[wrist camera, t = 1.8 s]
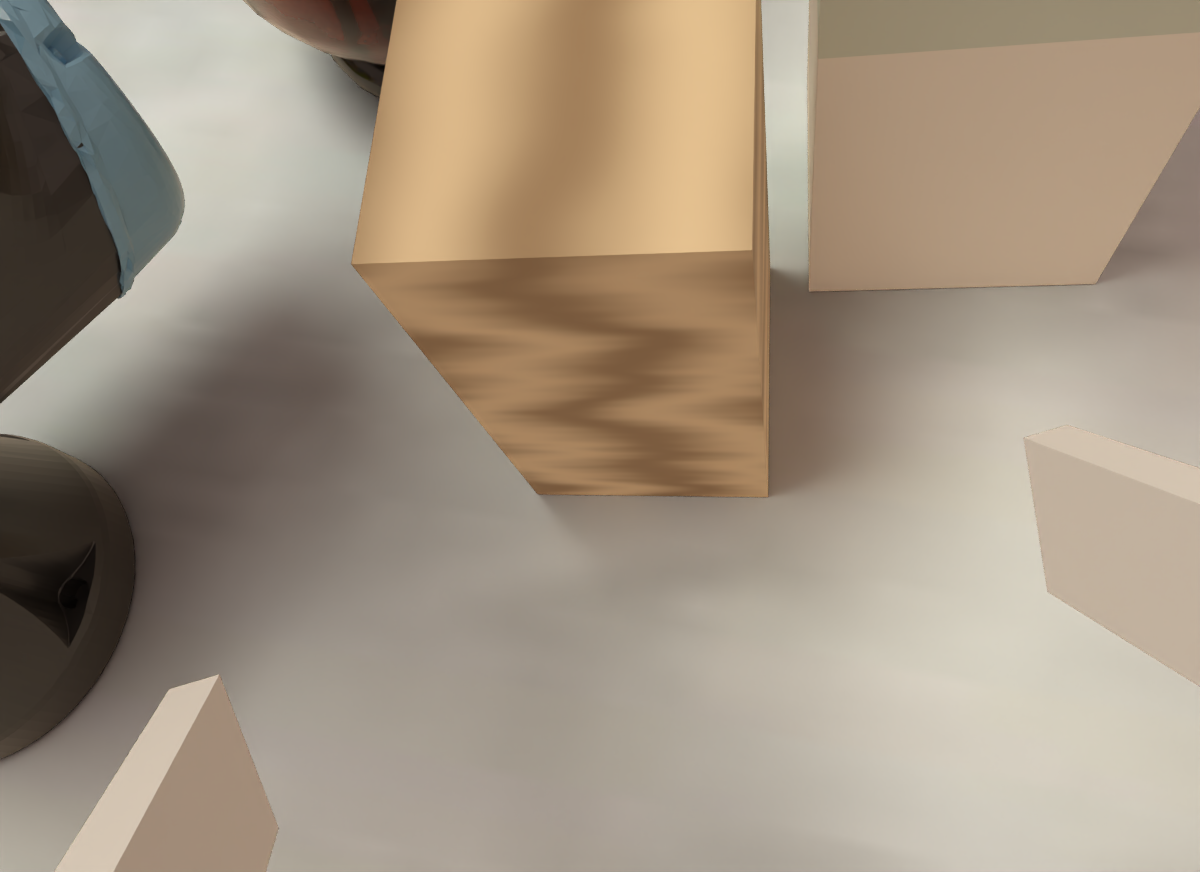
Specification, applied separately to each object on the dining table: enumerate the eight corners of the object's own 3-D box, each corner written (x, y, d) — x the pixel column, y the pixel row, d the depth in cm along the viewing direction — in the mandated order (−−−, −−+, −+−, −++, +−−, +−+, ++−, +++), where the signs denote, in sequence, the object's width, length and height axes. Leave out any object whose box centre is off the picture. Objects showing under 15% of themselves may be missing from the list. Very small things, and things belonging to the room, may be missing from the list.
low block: (537, 494, 43) (350, 263, 25) (557, 273, 47) (408, -70, 28) (768, 497, 41) (751, 249, 23) (769, 267, 45) (757, -106, 27)
